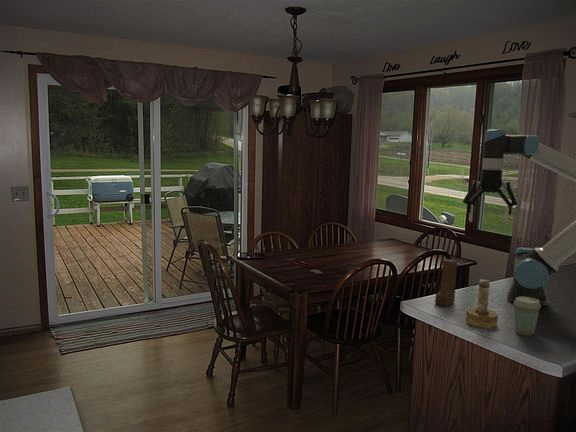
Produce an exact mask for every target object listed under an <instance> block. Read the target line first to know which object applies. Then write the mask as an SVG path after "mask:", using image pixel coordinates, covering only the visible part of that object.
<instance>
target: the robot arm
mask: <svg viewBox="0 0 576 432" xmlns="http://www.w3.org/2000/svg"><path fill="white" fill-rule="evenodd" d="M482 150H483V152H482V154H483V155H482V165H481V167H482V170H481V177H480V178H481V179H480V181H478V180H473V181H472V183H471V186H470V188H469V190H468V191H467V194H466V195H465V197H464V198H463V200H462V203H463V204H465V205H467V206H466V213H467V214H468V221H469V222H471V223H472V222H473V215H474V214H473V213H474V205H473V204H474V203H475V201H476V200H478V199H479V198H480V197H481V195H483V194H484V193H493V194H495V193H497V194H498V195H499V196H500V197H501V199H502V201H504V203H505V204H506V205H505V207H504V216H503V218H504V219H503V222H504V224H508V223H509V215H512V211H513V209H512V208H513V207H514V206H517V205H518V202H517V200H516V197H515V195H514V192H513V191H512V188H511V182H510V181H504V182H503V181H502V180H503V179H502V178H503V170H502V169H503V167H504V156H505V155H515V156H516V155H518V156H521V157H524V158H526V160H527V159H528V160H530V161H532V162H533V163H536V164H537V165H540V166H542V167H544V168H546V169H548V170H549V171H551V172H554V173H556V174H558V175H561V176H562V177H564V178H567V179H568V180H570V181H573V182H574V183H576V159H574V158H572V157H571V156H568V155H566V154H565V153H562V152H560V151H558V150H556V149H553V147H552V148H551V147H549V146H547V145H545V144H544V143H541V142H540V136H539V135H535V134H507V133H506V130H505V129H487V130H486V131H485V133H484V140H483V149H482ZM478 186H480V187H481V188H479V189H478V191H477V192H476V193H475V194H474V195H473V193H474V192H475V190H476V188H477V187H478ZM501 187H504V188H505V190H506V192H507V195H508V197H509V198H508V197H507V196H506V195H505V194H504V192H503V191H502V189H501ZM472 195H473V196H472ZM509 199H510V200H509ZM575 252H576V219H575V220H573V221H572V222H571V223H570V224H569V225H568V226H566V227H565V228H564V229H563V230H561V231H560V232H559V233H558V234H556V235H555V236H554V237H553V238H551V239H550V240H549V241H548V242H547V243H545V244H544V245H542V247H534V248H532V247H517V248H515V252H514V255H515V256H514V265H513V266H514V268H513V279H512V283H511V286H510V287H509V290H508V291H507V295H506V296H507V297H506V299H507V301H508V302H510V303H512V304H514V301H515V299H516V298H517V297H531V298H534V299H537V300H539V302H540V305H541V308H542V307H546V306H547V304H548V298H547V294H546V291H545V284H546V283H547V282H548V280H549V278H550V277H552V276H553V275H554V274H556V273H557V272H558V271H559V265H560V264H561V263H563V262H564V261H565V260H566V259H568V258H569V257H570V256H571V255H573V254H575Z"/></svg>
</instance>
